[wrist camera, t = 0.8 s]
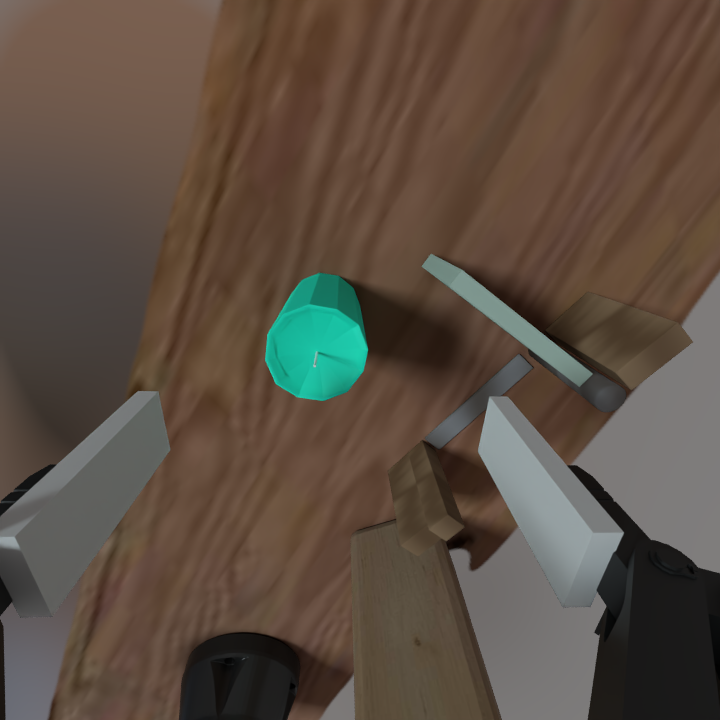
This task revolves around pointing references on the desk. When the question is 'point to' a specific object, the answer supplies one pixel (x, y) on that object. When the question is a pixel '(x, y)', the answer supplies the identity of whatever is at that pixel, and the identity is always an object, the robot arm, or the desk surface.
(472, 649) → the wooden block
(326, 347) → the candle
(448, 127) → the desk surface
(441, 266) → the sage green plank
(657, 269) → the desk surface
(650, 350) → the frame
